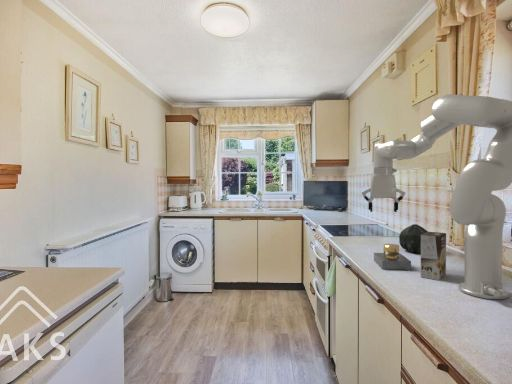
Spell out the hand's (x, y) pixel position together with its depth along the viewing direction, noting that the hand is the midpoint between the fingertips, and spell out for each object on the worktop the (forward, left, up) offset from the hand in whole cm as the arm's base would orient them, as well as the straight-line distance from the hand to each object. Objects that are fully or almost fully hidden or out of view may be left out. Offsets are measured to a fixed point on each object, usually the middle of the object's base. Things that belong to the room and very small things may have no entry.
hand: (383, 211), depth 129 cm
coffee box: (-15, -14, -23) cm, 31 cm away
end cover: (-1, -3, -23) cm, 23 cm away
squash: (+25, -22, -23) cm, 40 cm away
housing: (-1, -3, -23) cm, 23 cm away
